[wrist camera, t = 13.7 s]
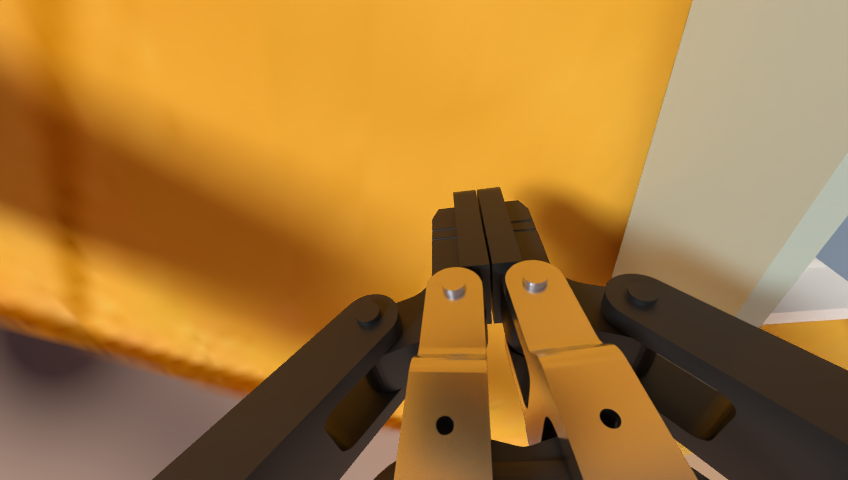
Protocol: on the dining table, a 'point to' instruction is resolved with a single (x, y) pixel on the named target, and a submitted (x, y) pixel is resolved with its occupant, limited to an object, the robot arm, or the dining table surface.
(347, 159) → the dining table surface
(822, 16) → the tray
